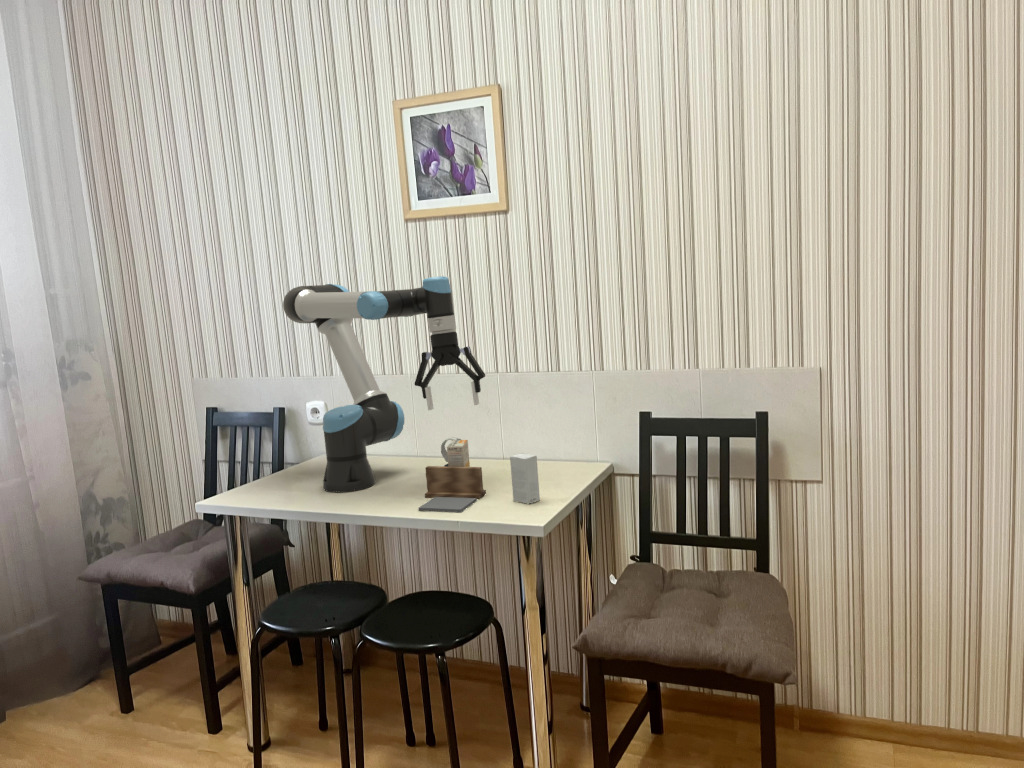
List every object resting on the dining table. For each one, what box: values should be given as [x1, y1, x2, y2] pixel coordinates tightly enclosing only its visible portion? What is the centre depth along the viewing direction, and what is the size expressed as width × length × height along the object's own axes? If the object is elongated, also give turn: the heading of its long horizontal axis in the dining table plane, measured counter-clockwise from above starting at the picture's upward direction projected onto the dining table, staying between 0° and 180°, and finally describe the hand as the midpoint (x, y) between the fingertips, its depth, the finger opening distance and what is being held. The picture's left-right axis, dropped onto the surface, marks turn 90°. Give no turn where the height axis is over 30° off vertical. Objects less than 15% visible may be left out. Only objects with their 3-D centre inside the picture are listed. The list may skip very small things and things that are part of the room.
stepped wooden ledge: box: [424, 465, 487, 500], centre depth 208 cm, size 16×5×8 cm, turn 70°
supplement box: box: [446, 439, 471, 467], centre depth 215 cm, size 8×5×13 cm, turn 174°
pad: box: [418, 497, 478, 513], centre depth 199 cm, size 12×10×1 cm
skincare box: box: [509, 453, 541, 505], centre depth 198 cm, size 6×4×12 cm
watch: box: [440, 436, 462, 467], centre depth 234 cm, size 6×8×11 cm
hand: (453, 407), depth 216 cm, fingers open, 13 cm apart
